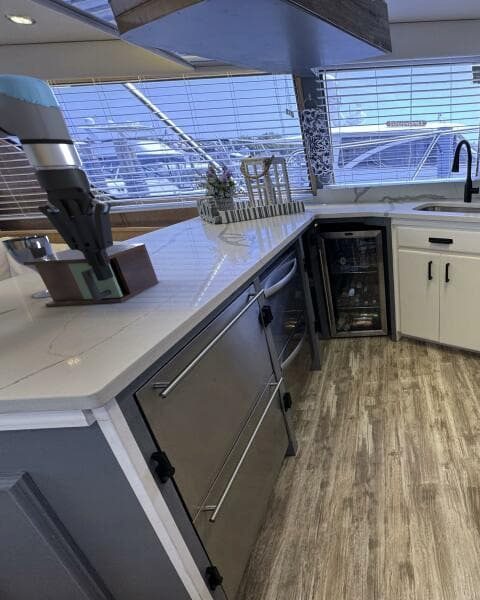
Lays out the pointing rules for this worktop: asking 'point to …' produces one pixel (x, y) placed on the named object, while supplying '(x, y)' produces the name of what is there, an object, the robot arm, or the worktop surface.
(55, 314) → the worktop surface
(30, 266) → the wine glass
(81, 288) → the door
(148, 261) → the cabinet
